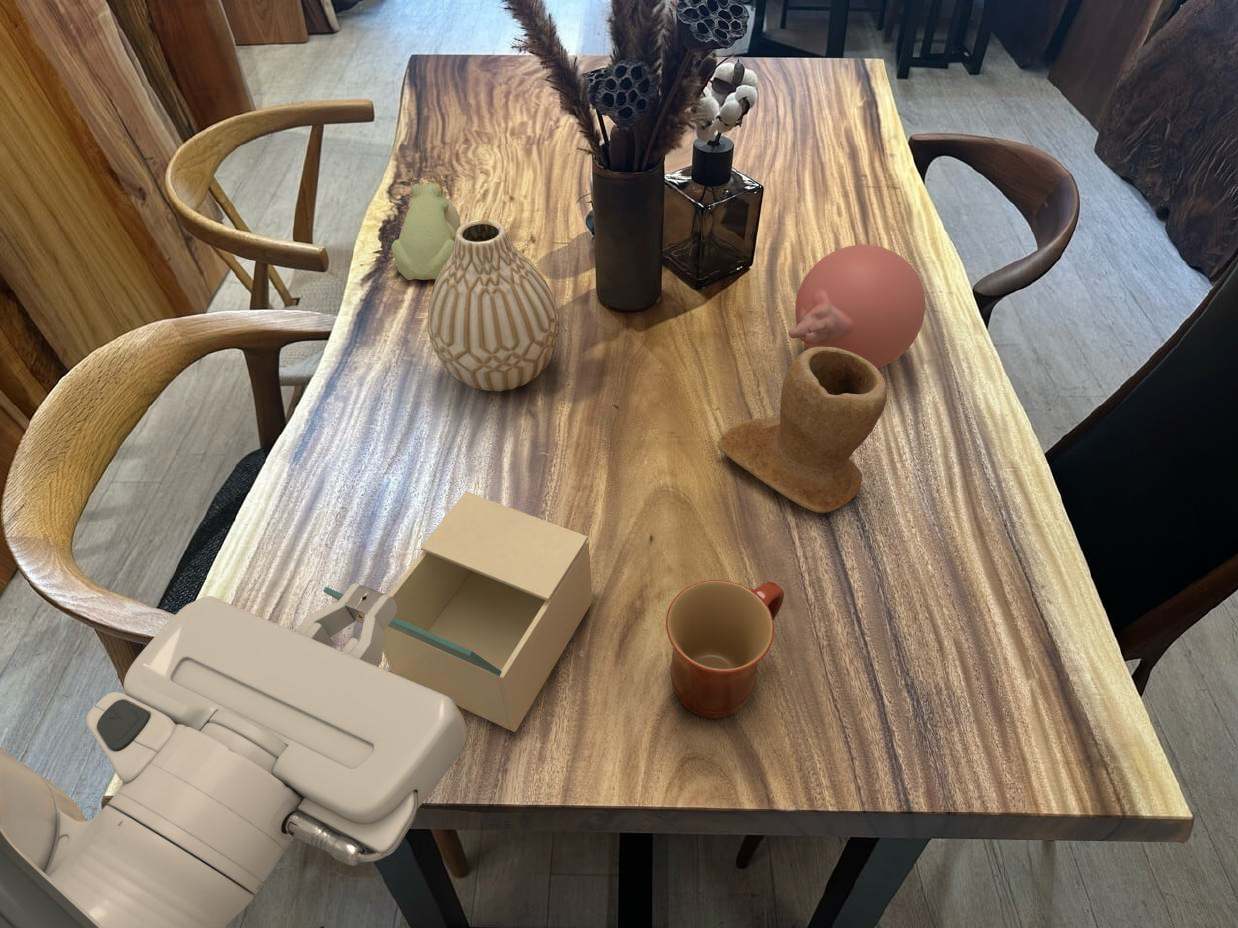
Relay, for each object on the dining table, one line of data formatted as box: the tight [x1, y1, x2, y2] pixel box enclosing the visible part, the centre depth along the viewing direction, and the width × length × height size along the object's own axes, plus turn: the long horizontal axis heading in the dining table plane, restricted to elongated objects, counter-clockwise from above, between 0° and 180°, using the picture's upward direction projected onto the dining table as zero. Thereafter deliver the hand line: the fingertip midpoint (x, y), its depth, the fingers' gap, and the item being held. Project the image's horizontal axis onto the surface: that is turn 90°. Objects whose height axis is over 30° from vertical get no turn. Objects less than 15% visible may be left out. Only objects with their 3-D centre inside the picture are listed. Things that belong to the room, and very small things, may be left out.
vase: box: [427, 218, 560, 392], centre depth 97 cm, size 16×16×20 cm
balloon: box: [788, 244, 926, 369], centre depth 99 cm, size 15×20×15 cm
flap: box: [322, 586, 502, 676], centre depth 61 cm, size 7×13×1 cm
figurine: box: [391, 182, 462, 281], centre depth 119 cm, size 10×16×10 cm, turn 179°
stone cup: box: [716, 347, 888, 514], centre depth 86 cm, size 15×12×15 cm
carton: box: [383, 491, 593, 733], centre depth 73 cm, size 15×13×10 cm
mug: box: [665, 579, 785, 720], centre depth 70 cm, size 12×9×10 cm
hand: (377, 594), depth 51 cm, fingers closed
